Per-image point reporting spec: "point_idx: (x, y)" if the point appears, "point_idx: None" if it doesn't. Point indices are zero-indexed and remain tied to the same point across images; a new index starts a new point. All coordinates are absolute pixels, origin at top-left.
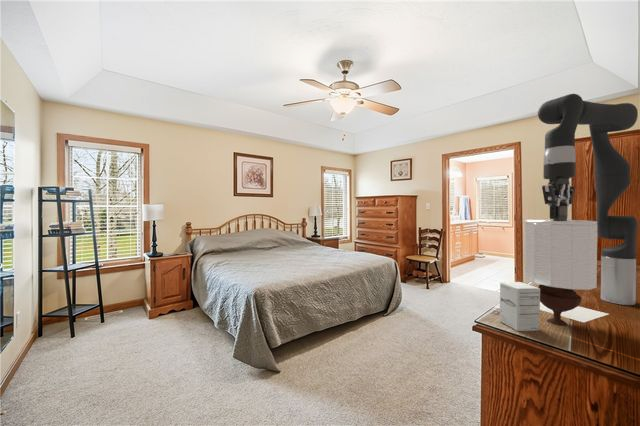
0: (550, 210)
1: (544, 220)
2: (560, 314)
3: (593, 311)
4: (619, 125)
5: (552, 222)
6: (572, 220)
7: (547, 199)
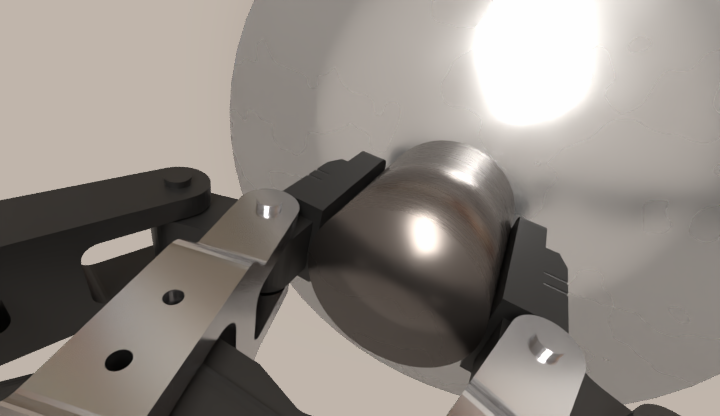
0: (297, 185)
1: (376, 99)
2: None
3: None
4: None
5: (240, 165)
6: (582, 310)
7: (140, 217)
